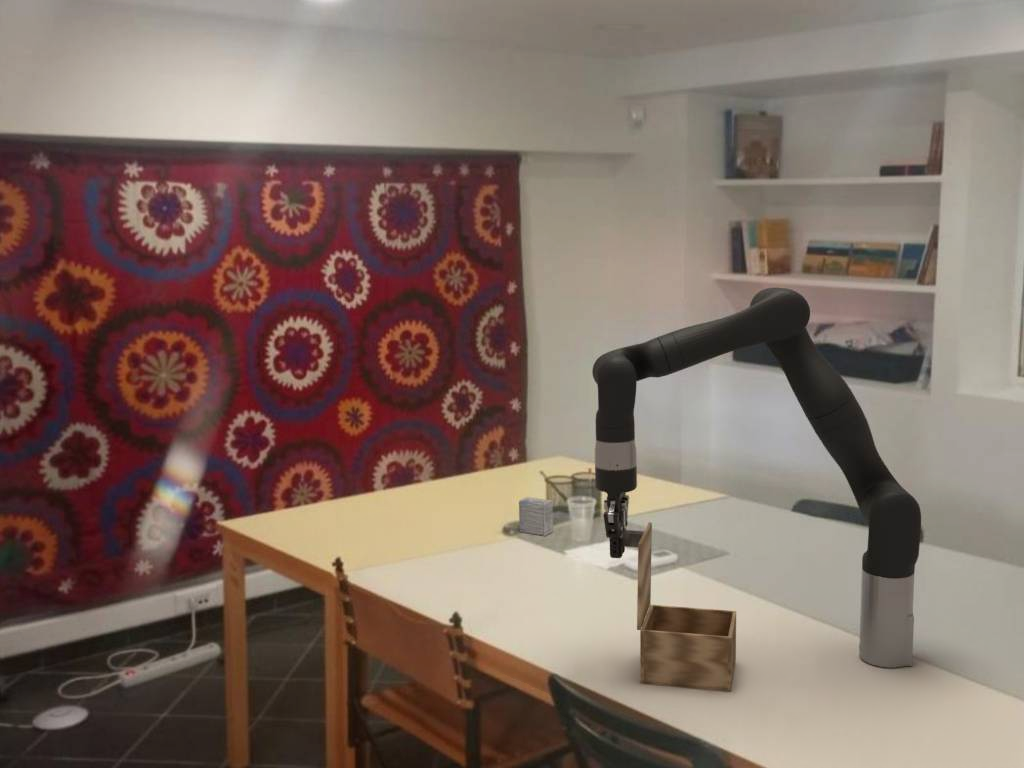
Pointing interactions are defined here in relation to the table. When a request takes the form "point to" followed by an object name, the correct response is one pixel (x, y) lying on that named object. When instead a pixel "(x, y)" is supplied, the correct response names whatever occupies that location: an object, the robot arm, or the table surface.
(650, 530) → the lid flap
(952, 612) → the table surface
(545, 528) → the medicine box
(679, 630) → the wooden box
